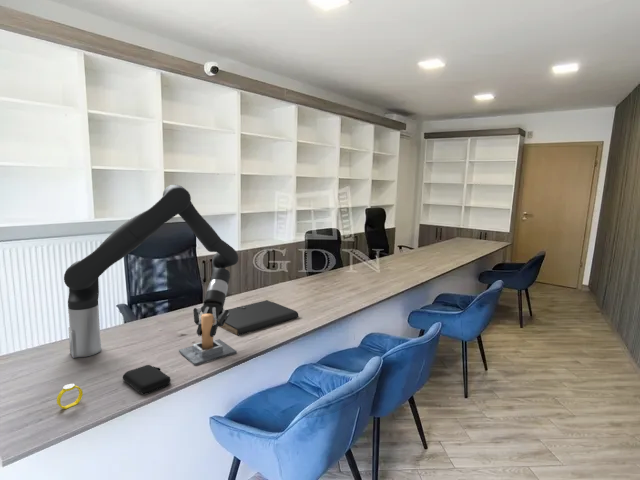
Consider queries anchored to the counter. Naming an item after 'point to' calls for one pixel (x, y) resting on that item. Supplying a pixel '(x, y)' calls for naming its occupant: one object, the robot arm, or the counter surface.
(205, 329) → the post
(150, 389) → the carrying case or bag
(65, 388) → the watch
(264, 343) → the counter surface
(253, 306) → the black book
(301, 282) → the counter surface
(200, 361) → the mounting plate
